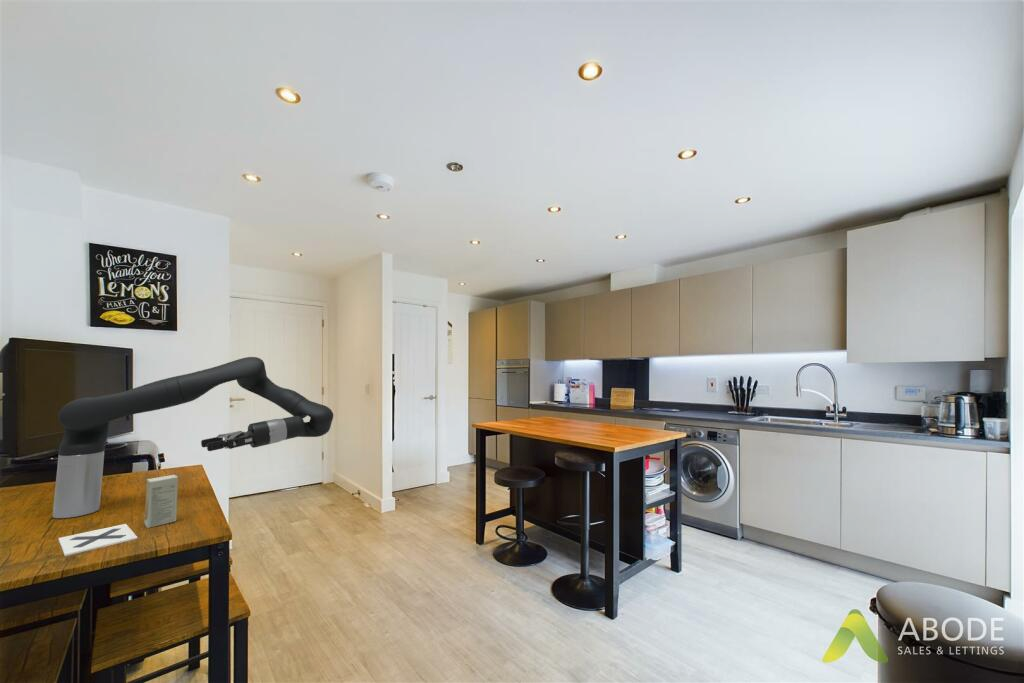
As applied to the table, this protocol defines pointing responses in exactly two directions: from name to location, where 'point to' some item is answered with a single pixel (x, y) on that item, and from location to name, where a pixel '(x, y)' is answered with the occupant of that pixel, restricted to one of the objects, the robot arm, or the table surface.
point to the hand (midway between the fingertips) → (204, 445)
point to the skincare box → (161, 500)
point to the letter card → (96, 539)
